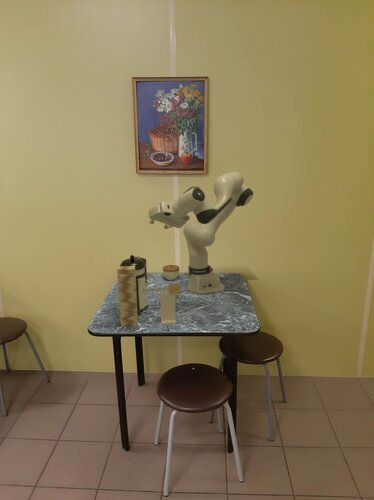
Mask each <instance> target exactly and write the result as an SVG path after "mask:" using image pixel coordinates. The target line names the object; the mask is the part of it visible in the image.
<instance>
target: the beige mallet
mask: <svg viewBox="0 0 374 500" xmlns="http://www.w3.org/2000/svg"><path fill="white" fill-rule="evenodd" d="M160 291H161V292H167V291H168V292H169V293H170V294H175V295H181V285H180V282H174V283H173V282H172V283H170V282H169V283H168V287H155V288H153V287H151V288H146V289H142V292H146V293H147V292H160Z"/></svg>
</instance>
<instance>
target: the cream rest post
mask: <svg viewBox="0 0 374 500" xmlns="http://www.w3.org/2000/svg"><path fill="white" fill-rule="evenodd" d="M159 292H160V291H159ZM159 300H160V321H161V326H163V325H164V326H165V325H176V324H177V320H176V312H177V311H176V310H177V309H176V294H170V293H169V291H161V292H160V299H159Z"/></svg>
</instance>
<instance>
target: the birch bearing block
mask: <svg viewBox="0 0 374 500" xmlns="http://www.w3.org/2000/svg"><path fill="white" fill-rule="evenodd" d="M116 273H117V275H116V276H117V287H118V288H117V289H118V290H117V291H118V302H119V303H118V305H119V306H118V307H119V321H120V327H137V326H138V325H139V321H138V320H139V317H138V316H139V315H138V314H137V295H136V275H135V266H121V267H120V266H117V269H116Z"/></svg>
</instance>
